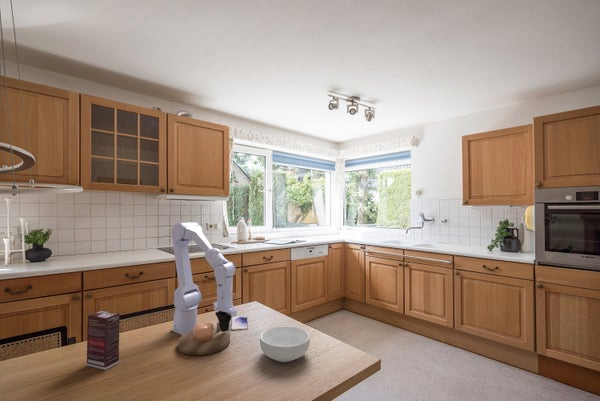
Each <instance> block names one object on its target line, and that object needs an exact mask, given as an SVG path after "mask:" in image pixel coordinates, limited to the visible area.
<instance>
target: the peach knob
mask: <svg viewBox="0 0 600 401" xmlns="http://www.w3.org/2000/svg"><path fill="white" fill-rule="evenodd" d="M213 327H214V324H213V323H212V322H201V323H197V325H195V326H194V327H193V340H194V341H197V342H203V341H208V340H210V339H212V338H213Z"/></svg>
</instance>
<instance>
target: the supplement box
mask: <svg viewBox="0 0 600 401" xmlns="http://www.w3.org/2000/svg"><path fill="white" fill-rule="evenodd" d="M120 318H121V317H120V313H116V312H111V311H104V310H100V311H96V312H93V313H90V314H88V315H87V330H86V332H87V333H86V334H87V337H86V338H87V339H86V341H87V343H86V366H87V367H92V368H96V369H100V370H104V371H106V370H108V369H110V368H112V367H114V366H116V365H118V364H119V361H120V360H119V358H120V355H119V354H120V322H121V321H120Z"/></svg>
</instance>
